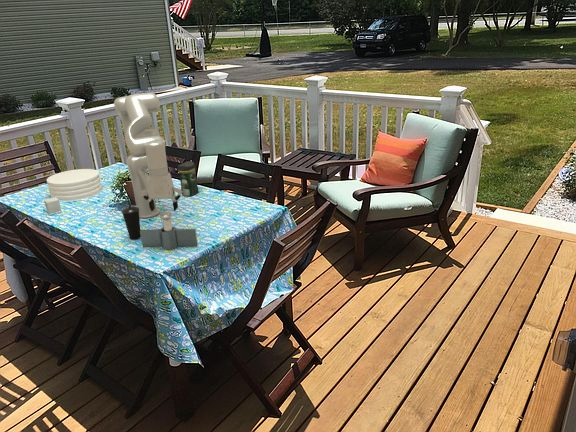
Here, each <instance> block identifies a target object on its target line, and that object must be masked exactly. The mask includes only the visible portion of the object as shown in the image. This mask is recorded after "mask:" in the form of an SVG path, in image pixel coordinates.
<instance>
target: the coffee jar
mask: <svg viewBox="0 0 576 432" xmlns="http://www.w3.org/2000/svg"><path fill="white" fill-rule="evenodd" d="M177 172H178V173H179V177H180V180H179V181H180V190H182V191H183V192H182V194H181V196H184V197H192V196H194V195H196V194H198V193H199V187H198V182H197V176H196V164H195V162H194V161H190V160H187V161H185V162H182V163H181V164H178V165H177Z"/></svg>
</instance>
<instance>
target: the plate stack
mask: <svg viewBox="0 0 576 432" xmlns="http://www.w3.org/2000/svg"><path fill="white" fill-rule="evenodd" d="M46 184H47V187H48V191H49V195H50V198H51V197H53V198H54V197H56V198H57V199H58V200H60V201H61V200H62V201H75V200H81V199H86V198H89V197H92V196H95V195H97V194H99V193H100V192H101V191H102V190H103V185H102V180H101V177H100V171H99V170H97V169H93V168H80V169H79V168H78V169H71V170H65V171H61V172H59V173H58V172H57V173H55V174H52V175H50V176H48V177H47V178H46Z"/></svg>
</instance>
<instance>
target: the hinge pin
mask: <svg viewBox="0 0 576 432" xmlns="http://www.w3.org/2000/svg"><path fill="white" fill-rule="evenodd" d="M172 217H173V212H171V211H165V212H160V213H159V219H160V220H162V224H163V225H162V226H163V227H162V228H164V232H170V231H173V230H172V226H173V224H172Z"/></svg>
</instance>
